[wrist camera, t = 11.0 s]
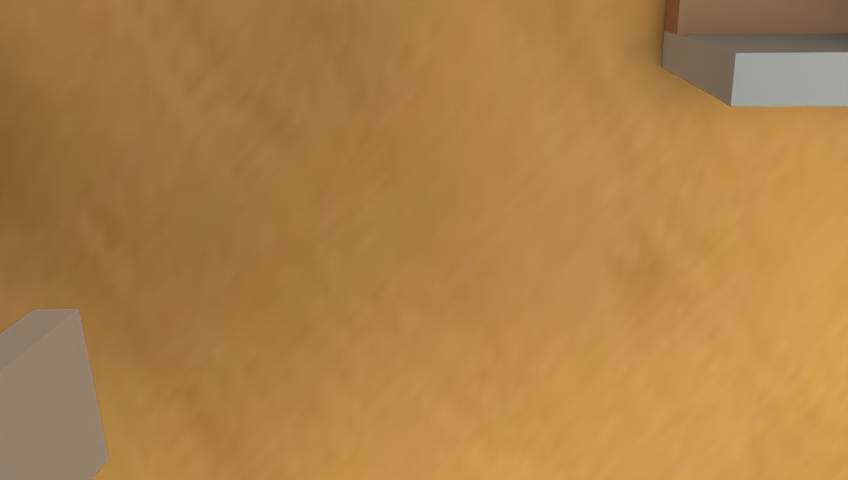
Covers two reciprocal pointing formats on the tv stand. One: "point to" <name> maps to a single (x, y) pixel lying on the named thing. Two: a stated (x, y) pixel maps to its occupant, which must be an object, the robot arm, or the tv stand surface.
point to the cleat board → (760, 50)
